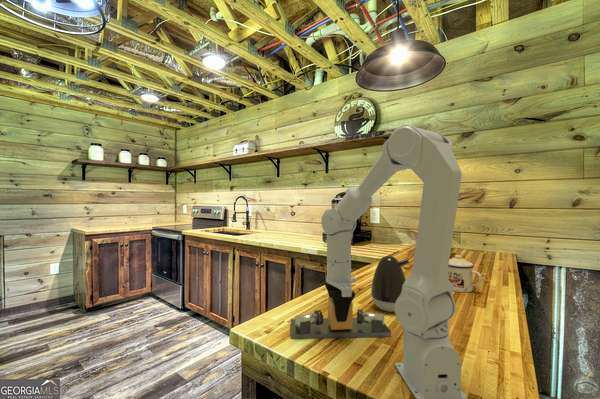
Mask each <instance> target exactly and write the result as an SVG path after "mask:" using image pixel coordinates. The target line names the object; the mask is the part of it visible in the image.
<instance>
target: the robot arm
mask: <svg viewBox="0 0 600 399" xmlns="http://www.w3.org/2000/svg"><path fill="white" fill-rule="evenodd" d="M381 152H382V153H381V154H380V155H379V157H378V158H377V160H376V161H375V162H374V164H373V165H372V167H371V168H370V170H369V171H368V173H367V174H366V176H365V177H364V178H363V180H362V181H361V182H360V184H359V186H358V185H357V186H354V185H353V186H351V187H348V188H347V189H346V190H345V194H344V195H343V197H342V198H341V199H340V200H339V202H338V203H336V204H335V206H334V207H332V208H330V209H329V208H328V209H326V210H324V213H323V214H322V217H321V227H322V230H323V231H324V232H325V233H326V278H325V283H324V286H325V288H326V291H327V294H328V298H332V299H333V303H334V308H335V315H336V319H337V322H346V320H347V316H348V312H349V308H350V305H351V302H352V303H353V301H354V299H355V296H356V293H355V291H354V290H352V284H353V283H355V282H357V278H356V277H355V276H352V239H353V238H354V231H355V230H356V227H357V223H358V222H357V220H358V219H360V217H361V216H362V215H363V214H364V213H365V212H366V211H367V210H368V209H369V208H370V207H371V205H372V204H373V198H372V196H373V195H374V194H375V193H377V191H378V190H379V189H380V188H382V187H383V186H384V184H385V183H387V182H388V181H389V180H390V179H391V178H392V177H393V176H394V175H395V174H396V173H397V172H399V171H405V170H409V169H410V170H411V171H412V172H413V173H414V174H415V175H416V176H417V177H418V178H419V179H420V180H421V181H422V183H423V187H422V194H421V195H422V196H421V203H420V208H419V210H420V211H419V217H418V218H419V219H418V225H417V232H416V238H415V239H416V240H415V248H414V255H413V262H412V269H411V272H410V274H409V275H408V276H407V278H406V281H405V282H404V284H403V286H402V292H401V294H400V296H399V297H398V299H397V300H396V302H395V312H394V314H395V316H396V319H397V321H398V323H399V324H400V326H401V329H402V330H403V344H402V345H403V350H402V352H403V362H395V364H394V365H395V368H396V370H397V371H398V373H399V374H400V376H401V377H402V379H403V381H404V382H405V384H406V385H407V387H408V389H409V391H410V392H411V393H412V395H413V396H414V398H415V399H467V395H466V394H465V392H463V391H462V362H461V357H460V354H458V352H457V350H456V349H455V348H454V347H453V345H452V342H451V340H450V333H449V330H450V329H449V328H450V327H449V320H450V319H452V318H453V317H454V315H455V314H456V309H457V307H456V301H455V299H454V295H453V292H454V291H453V284H452V283H451V282H450V281H449V280H448V279H447V271H448V265H449V260H450V259H451V258H450V256H451V249H452V244H453V236H454V232H455V231H454V229H455V224H456V223H455V222H456V218H457V217H456V216H457V209H458V202H459V198H460V197H459V195H460V189H461V181H462V171H461V167H460V165H459V163H458V160H457V159H456V156H455V154H454V151H453V142H452V141H451V140H450V139H448V138H447V137H446V136H445V135H444V134H443V133H441V132H438V131H431V130H427V129H423V128H420V127H416V126H414V125H412V124H402V125H400V126H398V127H396V129H394V130H393V131H392V132H391V134H390V136H389V138H388V139H386V140H385V142H383V144H382V151H381Z"/></svg>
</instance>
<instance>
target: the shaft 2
mask: <svg viewBox="0 0 600 399" xmlns="http://www.w3.org/2000/svg"><path fill="white" fill-rule="evenodd" d="M356 318H357V324H362V322H363V323H370V324H372V332H376V333H383V325H384V323H385V314H384V313H378V312H370V311H368V312H367V311H363V309H359V308H357V313H356Z"/></svg>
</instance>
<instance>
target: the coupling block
mask: <svg viewBox="0 0 600 399" xmlns="http://www.w3.org/2000/svg"><path fill="white" fill-rule="evenodd" d="M353 304H354V303H353V301H352V302H351V305H350V308H349V312H348V316H347V320H346V322H337V319H336V315H335V308H334V303H333V299H332V298H329V297H327V318H328V323H329V326H330V328H331V330H340V329H353V318H354V315H353V314H354V313H353V312H354V311H353V310H354V309H353V308H354V307H353V306H354V305H353Z"/></svg>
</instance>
